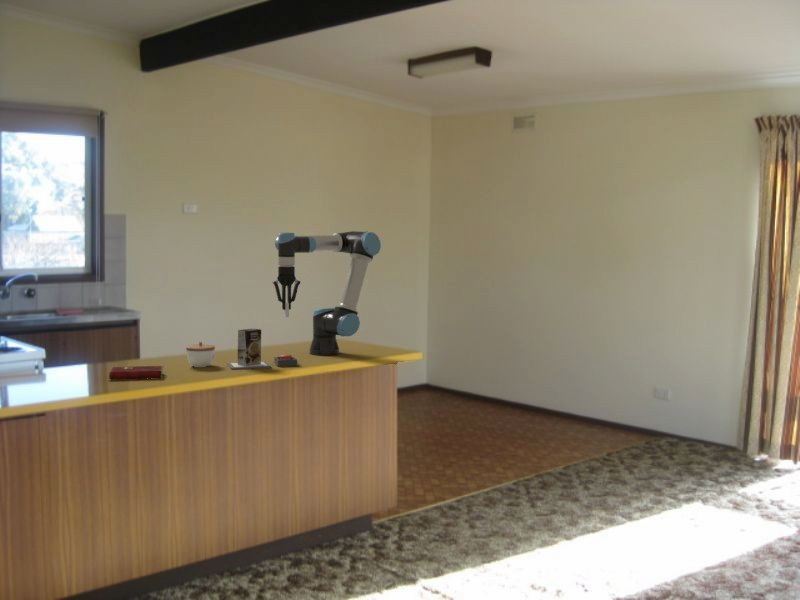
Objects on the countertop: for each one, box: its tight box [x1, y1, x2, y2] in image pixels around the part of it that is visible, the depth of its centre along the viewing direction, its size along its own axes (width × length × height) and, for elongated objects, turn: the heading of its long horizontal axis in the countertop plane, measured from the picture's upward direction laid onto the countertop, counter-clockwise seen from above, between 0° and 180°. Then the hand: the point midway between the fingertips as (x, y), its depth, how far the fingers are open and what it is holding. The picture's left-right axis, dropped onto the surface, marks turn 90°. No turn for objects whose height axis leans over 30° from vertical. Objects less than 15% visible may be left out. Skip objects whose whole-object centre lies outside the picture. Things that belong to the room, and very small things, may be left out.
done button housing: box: [273, 356, 298, 367], centre depth 370 cm, size 9×9×3 cm
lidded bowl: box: [185, 341, 216, 368], centre depth 362 cm, size 13×13×11 cm
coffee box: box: [237, 328, 262, 366], centre depth 364 cm, size 9×6×16 cm
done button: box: [279, 354, 293, 360], centre depth 370 cm, size 6×6×3 cm
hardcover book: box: [108, 365, 164, 380], centre depth 335 cm, size 12×21×4 cm, turn 103°
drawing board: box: [226, 361, 272, 370], centre depth 364 cm, size 18×13×1 cm
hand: (286, 316), depth 369 cm, fingers closed
